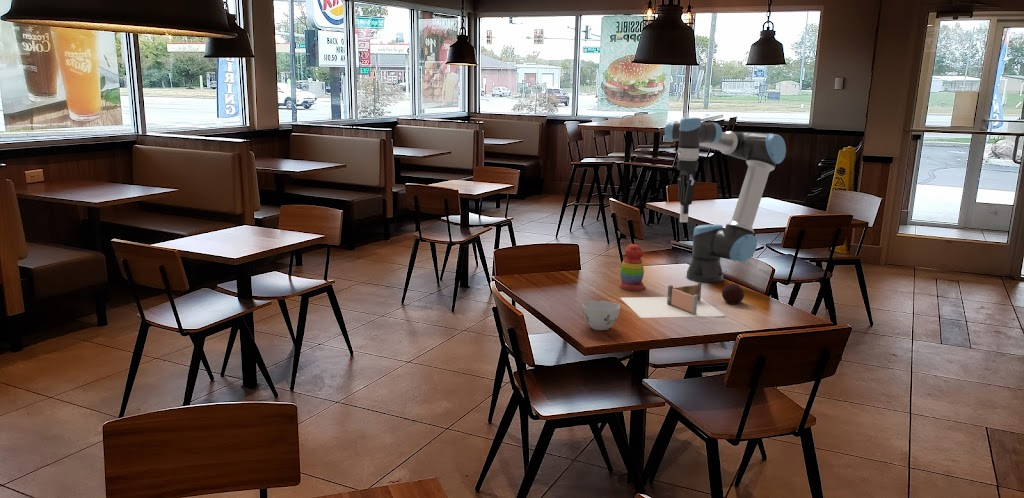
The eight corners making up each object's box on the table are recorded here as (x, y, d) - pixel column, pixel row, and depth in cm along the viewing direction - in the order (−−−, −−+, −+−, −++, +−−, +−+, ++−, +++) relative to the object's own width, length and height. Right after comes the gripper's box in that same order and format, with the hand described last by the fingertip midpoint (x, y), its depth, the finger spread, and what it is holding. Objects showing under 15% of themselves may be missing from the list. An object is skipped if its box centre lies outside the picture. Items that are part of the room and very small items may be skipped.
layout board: (697, 297, 294) (697, 295, 294) (725, 317, 269) (725, 315, 268) (619, 299, 289) (619, 297, 289) (640, 319, 264) (641, 317, 264)
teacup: (626, 331, 251) (627, 308, 249) (593, 335, 246) (594, 311, 244) (602, 318, 264) (603, 296, 262) (571, 322, 259) (572, 299, 257)
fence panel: (670, 304, 280) (671, 287, 279) (673, 304, 281) (674, 286, 279) (694, 314, 269) (695, 296, 267) (697, 313, 269) (698, 295, 268)
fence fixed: (698, 299, 289) (699, 281, 288) (701, 300, 288) (702, 282, 286) (665, 303, 282) (667, 285, 281) (669, 305, 281) (670, 286, 279)
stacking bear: (646, 291, 302) (649, 247, 298) (621, 290, 302) (623, 246, 298) (642, 284, 312) (645, 241, 309) (617, 283, 313) (620, 241, 309)
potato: (727, 307, 281) (728, 287, 280) (716, 300, 290) (718, 281, 289) (747, 307, 283) (749, 286, 281) (736, 300, 292) (738, 280, 290)
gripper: (672, 157, 290) (668, 219, 294) (684, 161, 277) (680, 225, 282) (691, 158, 291) (686, 219, 296) (704, 161, 278) (699, 224, 283)
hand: (683, 221), depth 289 cm, fingers closed
